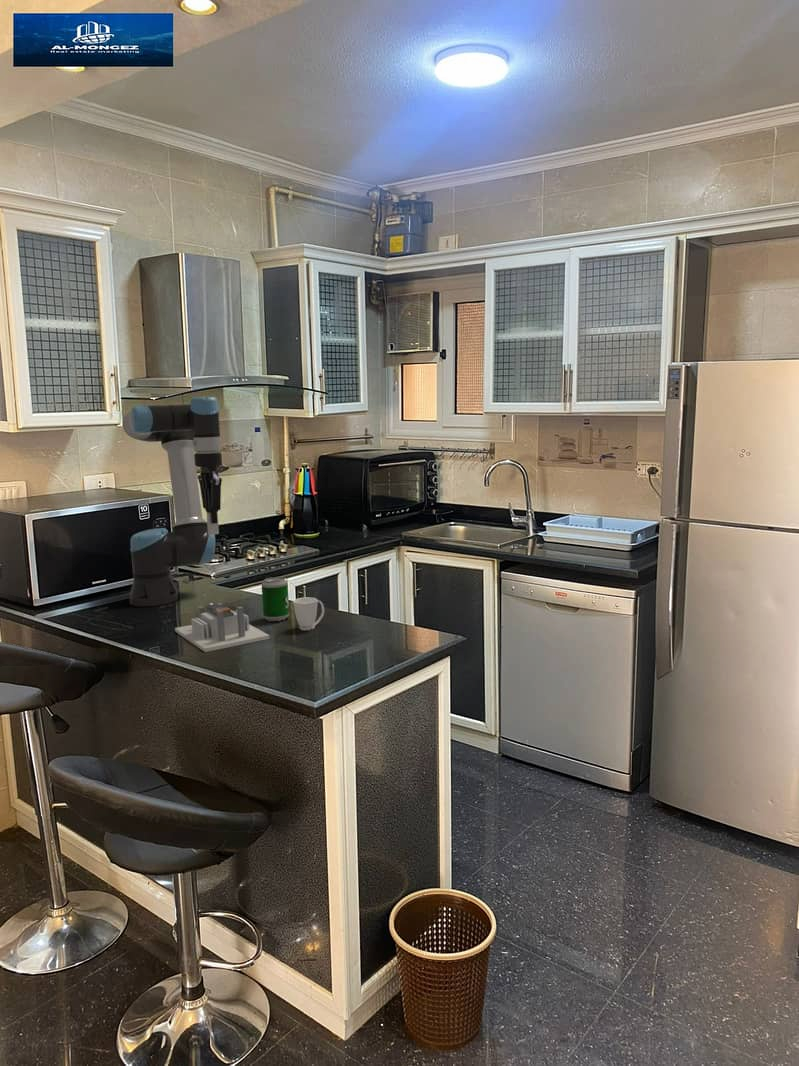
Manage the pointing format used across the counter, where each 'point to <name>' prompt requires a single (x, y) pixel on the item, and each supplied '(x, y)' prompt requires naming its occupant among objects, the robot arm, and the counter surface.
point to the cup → (307, 612)
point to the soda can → (275, 599)
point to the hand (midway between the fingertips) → (213, 534)
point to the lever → (216, 607)
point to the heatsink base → (220, 630)
